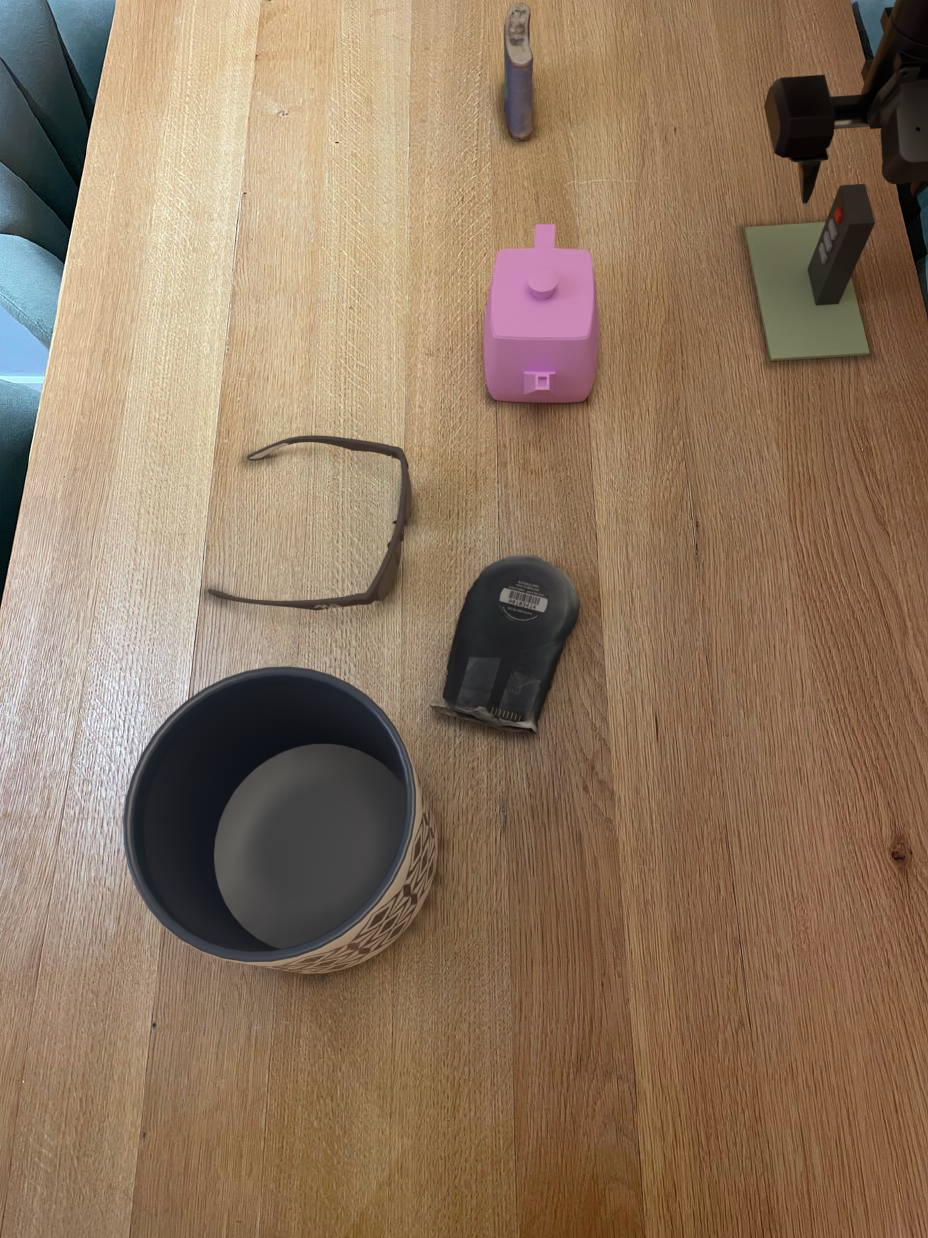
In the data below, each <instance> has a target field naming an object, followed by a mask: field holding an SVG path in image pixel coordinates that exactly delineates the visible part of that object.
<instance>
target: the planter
mask: <svg viewBox="0 0 928 1238" xmlns="http://www.w3.org/2000/svg"><path fill="white" fill-rule="evenodd" d="M136 763H137V764H136V766H135V768H134V770H133V773H132V775H131V778H130V782H129V784H128V789H127V792H126V795H125V801H124V810H123V817H122V835H123V836H122V837H123V848H124V854H125V858H126V864H127V868H128V871H129V875H130V876H131V878H132V882H133V884H134V887H135V890H136V891H137V893H138V894H139V896H140V898H141V899H142V902H143V903H144V905H145V906H146V908H147V910H148V911H149V912H150V913H151V914H152V915H153V917H154V918H155V919H156V920H157V921H158V923H160V925H161V926H162V927H163V928H164V929H166V930H167V931H168V932H169V933H170V934H171V935H173V936H174V937H176V938H177V940H179V941H180V942H182V943H183V944H186V945H188V946H189V947H191V948H193V949H195V950H197V951H199V952H200V953H203V954H205V955H208V956H212V957H214V958H218V959H220V960H222V961H223V960H224V961H228V962H231V963H237V964H243V965H248V966H253V967H259V968H265V969H272V970H278V971H282V972H283V971H284V972H290V973H296V974H297V973H298V974H304V975H305V974H326V973H332V972H338V971H342V970H346V969H348V968H351V967H354V966H358V965H360V964H362V963H364V962H366V961H367V960H369V959H371V958H373V957H375V956H376V955H378V954H380V953H381V952H383V951H384V950H385V949H387V948H388V947H389V946H390V945H391V944H393V943H394V942H395V941H396V940H397V939H398V938H399V937H401V935H402V934H403V933H404V932H405V931H406V930H407V929H408V928H409V927H410V925H411V924H412V922H413V921H414V920H415V918H416V916H417V915H418V913H419V912H420V911H421V909H422V907H423V905H424V903H425V900H426V899H427V897H428V895H429V892H430V890H431V886H432V883H433V880H434V876H435V875H436V868H437V861H438V855H439V853H438V852H439V851H438V850H439V845H438V843H439V842H438V841H439V839H438V838H439V836H438V835H439V834H438V828H437V822H436V817H435V816H436V815H435V812H434V809H433V806H432V803H431V800H430V797H429V794H428V793H427V790H426V787H425V785H424V783H423V781H422V778H421V775H420V773H419V770H418V769H417V766H416V764H415V762H414V759H413V757H412V755H411V753H410V751H409V748H408V746H407V745H406V743H405V741H404V739H403V737H402V735H401V733H400V731H399V729H398V728H397V726H396V725H395V723H394V722H393V720H392V719H391V717H390V716H389V715H388V714H387V712H386V711H385V710H384V708H382V707H381V705H379V704H378V703H377V702H376V701H375V700H374V699H373V698H372V697H371V696H369V695H368V694H367V693H366V692H364V691H363V690H361V689H360V688H358V687H357V686H355V685H354V684H352V683H350V682H348V681H347V680H344V679H342V678H340V677H338V676H335V675H334V674H332V673H327V672H324V671H321V670H317V669H313V668H307V667H299V666H291V665H286V666H285V665H284V666H265V667H260V668H259V667H258V668H254V669H249V670H244V671H242V672H239V673H235V674H232V675H229V676H227V677H223V678H222V679H219V680H218V681H216V682H214V683H212V684H210V685H208V686H206V687H204V688H203V689H201V690H199V691H198V692H196V693H195V694H193V695H192V696H190V697H189V698H188V699H186V700H184V702H183V703H182V704H181V705H179V706H178V707H177V709H175V710H174V711H173V712H172V713H170V715H169V716H168V717H167V718H166V719H165V720H164V721H163V723H162V724H161V725H160V726H159V728H158V729H157V730H156V731H155V732H154V734H153V735H152V737H151V738H150V740H149V741H148V743H147V745H146V746H145V748H144V749H143V751H142V752H141V754H140V757H139V759H138V761H137V762H136Z"/></svg>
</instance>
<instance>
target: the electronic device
mask: <svg viewBox="0 0 928 1238" xmlns="http://www.w3.org/2000/svg"><path fill="white" fill-rule="evenodd" d="M580 602H581V599H580V597H579V593H578V589H577V588H576V586H575V584H574V582H573V580H572V578H571V576H570V575H569V574H568V573H567V571H566V570H565V569H562V568H559V567H557V566H555V565H553V564H551V563H549V562H547V561H546V560H544V559H543V558H541V557H539V555H535V554H508V555H506V556H505V557H503V558H500V559H498V560H496V561H494V562H491V563H490V564H488V565H487V566H486V567H484V568H483V569H482V570H481V571H480V573H479V575H478V577H477V578H476V579H475V580H474V582H473V583H472V586H471V587H470V588H469V589H468V591H467V592H466V595H465V598H464V602H463V604H462V606H461V610H460V613H459V615H458V619H457V622H456V626H455V630H454V634H453V638H452V642H451V647H450V651H449V656H448V661H447V665H446V671H447V674H446V679H445V683H444V686H443V691H442V697H440V699H439V701H432V702H431V703H429V704H428V706H429V707H430V708H432V709H433V710H434V711H435V710H436V712H438V713H439V714H443V715H446V716H450V717H454V718H459V719H462V720H466V721H470V722H474V723H477V724H481V725H485V726H487V727H492V728H494V729H497V730H502V731H506V732H511V733H519V732H520V733H521V732H526V733H529V734H531V735H533V734H534V735H535V736H536V737H538V736H537V735H538V731H539V721H540V719H541V715H542V712H543V708H544V705H545V704H546V700H547V697H548V694H549V692H550V691H551V689H552V683H553V680H554V677H555V673H556V671H557V668H558V665H559V663H560V659H561V657H562V654H563V651H564V648H565V645H566V642H567V638H568V637H569V636H570V635H571V633H572V631H573V630H575V628H576V625H577V621H578V619H579V616H580V615H579V613H580V608H581V603H580Z"/></svg>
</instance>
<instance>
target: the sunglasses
mask: <svg viewBox="0 0 928 1238" xmlns="http://www.w3.org/2000/svg"><path fill="white" fill-rule="evenodd" d="M301 443H316V444H325V445H331V446H334V447H339V448H341V449H346V450H349V451H353V452H363V453H364V452H365V453H375V454H378V455H379V454H381V455H384V456H387V457H391V458H392V459H396V460H398V461H399V462H400V470H401V474H400V475H401V479H400V480H401V482H400V483H401V484H400V485H401V486H400V489H401V490H400V496H399V503H398V511H397V514H396V520H393V521H392V524H394V525H395V526H394V528H393V532H392V534H391V535H392V536H391V538H390V541H389V542H387V546H386V547H387V551H386V553H385V555H384V557H383V559H382V561H381V564H380V566H379V569H378V571H377V572H376V574H375V576H374V577H373V580H372V581H371V583H370V585H369V587H368V588H367V589H366V591H365V592H360V593H354V594H349V595H343V596H337V597H336V596H335V597H329V598H327V597H326V598H319V599H297V600H296V599H295V600H269V599H254V598H247V597H242V596H238V595H233V594H229V593H225V592H223V591H219V590H217V589H213V588H208V589H207V593H208V594H210V595H212V596H215V597H217V598H220V599H223V600H228V601H231V602H236V603H237V602H238V603H244V604H249V605H250V604H251V605H260V606H270V607H281V608H282V607H283V608H293V609H300V610H310V611H326V610H331V609H339V608H346V607H354V606H370V605H372V604H373V603H375V602H380V603H382V602H383V601H385V599H386V598H387V596H388V595H389V593H390V591H391V589H392V587H393V585H394V583H395V580H396V578H397V575H398V572H399V569H400V564H401V559H402V552H403V551H402V550H403V542H404V539H405V534H404V527H408V525H409V521H410V517H411V513H412V512H411V511H412V498H413V497H412V495H413V492H412V490H413V489H412V483H411V477H410V476H411V475H410V472H409V470H410V467H409V462H408V460H407V456H406V454H405V451H404V450H403V448H402V447H400V446H396V445H390V444H388V443H387V444H386V443H381V442H376V441H369V440H363V439H356V438H349V437H342V436H332V435H319V434H318V435H316V434H315V435H311V434H309V435H308V434H307V435H298V436H291V437H288V438H284V439H281V440H278V441H276V442H274V443H270V444H269V445H266V446H265V447H262V448H260V449H258V450H256V451H253V452H251V453H249V454H247V456H246V458H247V460H258V459H263V458H264V457H266V456H267V455H269V454H271V453H273V452H274V451H277V450H279V449H281V448H284V447H286V446H290V445H294V444H301Z"/></svg>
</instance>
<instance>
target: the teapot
mask: <svg viewBox="0 0 928 1238" xmlns="http://www.w3.org/2000/svg"><path fill="white" fill-rule="evenodd" d="M555 241H556V224H555V223H553V224H549V223H547V224H546V223H537V224H536V223H535V228H534V244H533V247H523V248H522V247H521V248H502V249H500V250H498V252H497V255H496V257H495V260H494V265H493V268H492V269H493V270H492V275H491V280H490V284H489V290H488V296H487V302H486V308H485V314H484V315H485V316H484V326H483V362H484V363H483V364H484V367H483V368H484V375H485V382H486V386H487V389H488V392H489V394H490V396H491V397H492V399H493V400H495V401H499V402H508V403H509V402H510V403H512V402H513V403H535V404H536V403H537V404H540V403H541V404H546V403H547V404H551V403H552V404H559V403H560V404H562V403H563V404H564V403H565V404H567V403H581V402H584V401H585V400H586V399H587V398H588V397H589V395H590V393H591V391H592V388H593V384H594V380H595V376H596V370H597V363H598V353H599V344H600V343H599V340H600V338H599V337H600V336H599V335H600V319H599V318H600V315H599V302H598V295H597V285H596V277H595V271H594V266H593V265H594V264H593V258H592V255H591V253H590V251H589V250H587V249H582V248H561V247H560V248H559V247H557V248H556V247H555V243H556V242H555Z"/></svg>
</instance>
